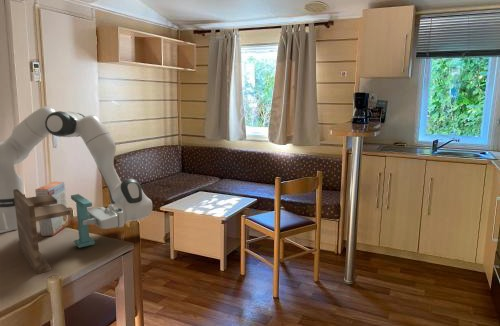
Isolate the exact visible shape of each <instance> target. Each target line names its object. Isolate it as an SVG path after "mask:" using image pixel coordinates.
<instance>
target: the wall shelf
mask: <svg viewBox="0 0 500 326" xmlns="http://www.w3.org/2000/svg"><path fill="white" fill-rule="evenodd" d="M13 193H14V201H15V210H16V219H17V227H18V229H17V237H18V244H19V250H20V251H21V252H22V254H23V256H24V258H25V259H26V260H27V262H28V263H29V265H30V267H31V268H32V269H33V272H34V273H35V275H38V274H42V273H45V272H49V271H51V269H52V268H51V265H50V264H49V262H48V261H47V259H46V258H44V256H43V255H42V253H41V252H40V248H39V238H38V230H37V229H38V228H37V221H38V222H39V220H45V219H50V218H55V217H60V216H65V215H68V216H69V215H72V213H71V209H69V208H68V206H67V207H65V206H64V205H63V204H58V205H52V204H57V200H56V199H55V198H54V197H53V196H51V195H50V194H49V195H43V196H36V195H35V196H30V197H26V195H25V196H24V195H23V194H22V193H21V192H20V191H19V190H18V189H15V190H13ZM46 205H52V206H46ZM40 206H46V207H41V208H37V207H40Z"/></svg>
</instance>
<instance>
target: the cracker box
mask: <svg viewBox="0 0 500 326" xmlns="http://www.w3.org/2000/svg"><path fill="white" fill-rule="evenodd" d="M65 185H66V184H65V181H52V182H51V181H50V182H49V183H47V184H45V185H43V186H40V187H38V188H37V189H36V188H35V197H36V196H43V195H49V194H50V195H51V196H53V197H54V198H55V199H56V200H57V204H52V205H58V204H63V205H64V206H65V207H67V208H68V206H67V204H68V203H67V196H66V188H65V187H66V186H65ZM52 205H46V206H52ZM46 206H40V207H36V208H41V207H46ZM38 222H39V231H40V236H41V237H49V236H50V237H54V236H55V235H56V234H58V233H59V232H61V231H62V230H63V229H65V228H66V227H68V226H69V215H65V216H60V217H55V218H50V219H45V220H39V221H38Z"/></svg>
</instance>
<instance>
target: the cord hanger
mask: <svg viewBox="0 0 500 326" xmlns="http://www.w3.org/2000/svg"><path fill="white" fill-rule="evenodd" d="M70 199H71V200H72V201H74V202H75V206H76V207H75V208H76V216H77V217H76V219H77V228H78V229H77V230H78V239H74V241H73V243H74V244H75V246H77V248H79V249H80V248H83V247H89V246H93V245H96V244H95V243H96V242H95V240H94V239H93V238H92V237H90V231H89V228H90V227H89V224H87V225H83V224H82V220H84V219H87V220H88V215H87V208H93V202H91V201H90V200H88V199H87V198H86V197H84V196H82V195H81V194H79V193H77V194H71V195H70Z"/></svg>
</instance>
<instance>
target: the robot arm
mask: <svg viewBox="0 0 500 326" xmlns="http://www.w3.org/2000/svg"><path fill="white" fill-rule="evenodd" d="M50 134H51V135H53V136H55V137H59V138H61V137H63V138H75V137H76V138H77V137H80V138H81V139H82V140H83V143H84V144H85V146H86V147H87V149H88V151H89V153H90V154H91V156H92V158H93V160H94V162H95V164H96V166H97V169H98V171H99V172H100V173H99V174H100V175H101V177H102V179H103V182H104V183H105V185H106V187H107V189H108V194H109V200H110V203H111V204H108V205H107V208H106V207H104V206H95V207H93V206H92V207H87V215H88V220H87V219H84V220H82V224H83V225H87V224H88V225H91V226H92V225H96V226H97V227H99V228H100V229H101V230H107V229H115V228H123V227H124V226H125V224H126V223H128V222H130V221H131V222H134V221H138V220H143V219H145V218H148V217H149V216H151V214H152V211H153V209H154V208H153V205H154V203H153V202H152V199H151V198H149V197H148V196H147V195H146V194H145V193H144V190H143V188H142V186H141V183H140V182H139V181H138V180H136V179H135V178H126V179H124V180H122V181H121V178H120V176H119V175H118V172H117V171H116V168H115V164H114V159H115V154H116V151H117V145H116V143H115V140H114V138H113V136H112V135H111V133H110V131H109V129H108V128H107V127H106V125H105V124H104V123H103V121H102V120H101V119H99V117H98V116H97V115H92V114H91V115H86V116H85V115H83V114H82V113H79V112H74V111H61V110H60V111H59V110H58V111H57V110H56V109H55V108H53V107H50V106H46V105H45V106H42V107H40V108H38V109H36V110H35V111H33V112H32V113H31V114H29V115H28V116H26V117H25V118H24V120H22V121H21V122H20V123H18V124H17V125H16V126H15V127H13V129H12V133H11V134H10V136H9V137H8V138H7V139H5V140H3V141H1V142H0V234H2V233H3V234H4V233H7V232H10V231H16V230H17V231H18V227H17V219H16V210H15V201H14V193H13V190H15V189H18V190H19V191H20V192H21V193H22V194H23V195H24V196H25V197H26V194H25V191H24V184H23V183H24V182H23V181H24V180H23V178H22V176H20V175H19V174H18V172H17V171H16V169H15V165H16V164H19V163H22V162H23V161H24V160H26V159H27V158H28V156H29V154H30V153H31V151H33V149H34V147H36V146H37V145H38V144H39V143H41V142H42V141H43V140H44V139H45V138H46V137H48V136H49V135H50Z"/></svg>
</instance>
